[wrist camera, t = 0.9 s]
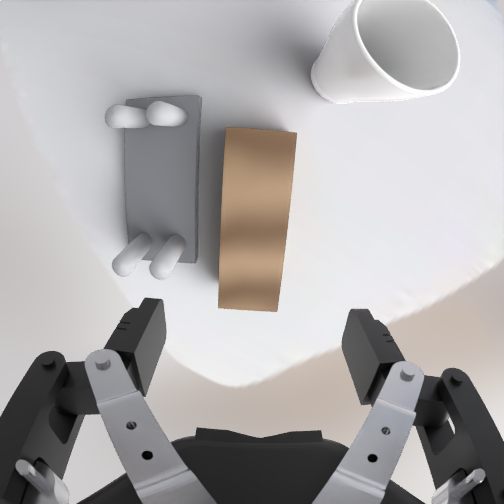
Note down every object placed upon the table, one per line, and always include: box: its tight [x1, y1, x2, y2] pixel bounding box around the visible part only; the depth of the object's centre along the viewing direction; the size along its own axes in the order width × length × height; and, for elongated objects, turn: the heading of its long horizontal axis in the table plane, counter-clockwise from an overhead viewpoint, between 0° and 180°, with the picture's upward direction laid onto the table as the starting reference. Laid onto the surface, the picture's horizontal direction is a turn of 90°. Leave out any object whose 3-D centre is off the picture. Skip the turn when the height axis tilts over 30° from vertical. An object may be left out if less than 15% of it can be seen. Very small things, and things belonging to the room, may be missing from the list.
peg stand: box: [105, 96, 202, 280], centre depth 24 cm, size 16×7×8 cm, turn 177°
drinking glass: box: [311, 0, 460, 104], centre depth 17 cm, size 7×7×15 cm
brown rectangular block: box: [218, 127, 297, 312], centre depth 27 cm, size 16×6×5 cm, turn 176°
